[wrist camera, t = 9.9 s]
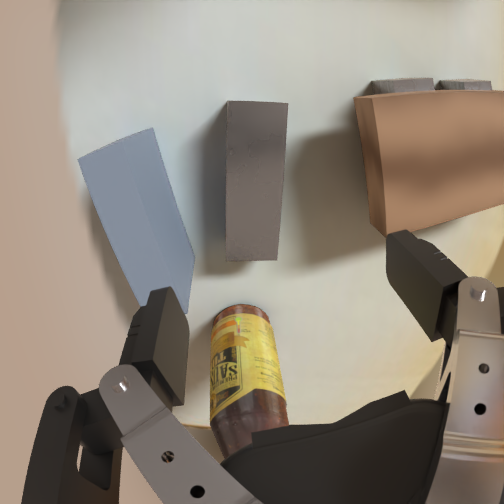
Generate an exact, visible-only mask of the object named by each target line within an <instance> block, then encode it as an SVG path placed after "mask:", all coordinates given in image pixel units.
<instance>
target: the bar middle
mask: <svg viewBox="0 0 504 504" xmlns="http://www.w3.org/2000/svg"><path fill="white" fill-rule="evenodd" d="M371 82H372V86H373V91H374V95H377V94H387V93H398V92H411V91H429V90H435V89H434V83H433V78H399V79H386V80H376V81H371Z"/></svg>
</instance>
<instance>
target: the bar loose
mask: <svg viewBox="0 0 504 504" xmlns="http://www.w3.org/2000/svg"><path fill="white" fill-rule="evenodd" d="M287 115H288V103H276V102H256V101H227V136H226V221H225V242H226V261H263V260H277V255H278V244H279V231H280V219H281V206H282V192H283V178H284V163H285V148H286V132H287Z"/></svg>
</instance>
